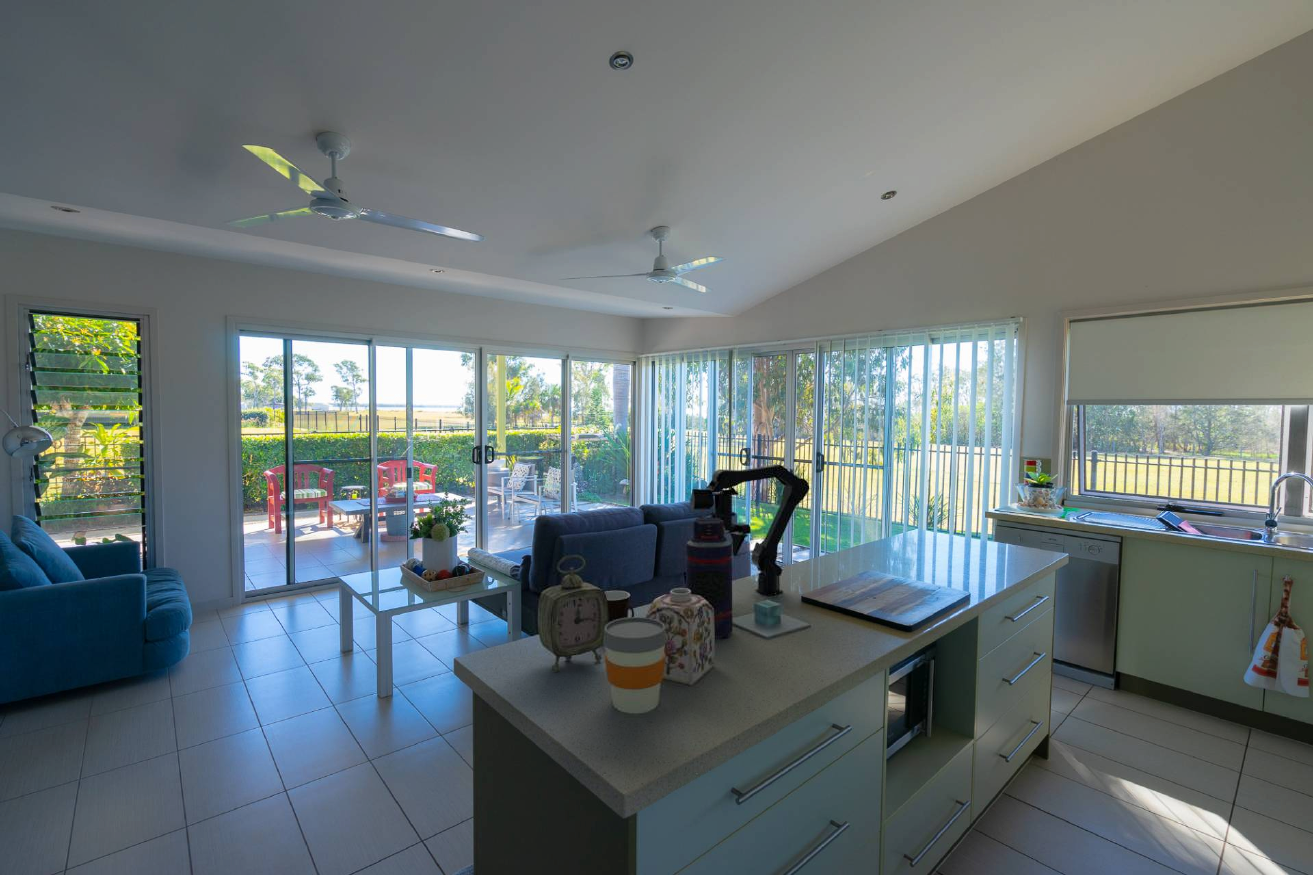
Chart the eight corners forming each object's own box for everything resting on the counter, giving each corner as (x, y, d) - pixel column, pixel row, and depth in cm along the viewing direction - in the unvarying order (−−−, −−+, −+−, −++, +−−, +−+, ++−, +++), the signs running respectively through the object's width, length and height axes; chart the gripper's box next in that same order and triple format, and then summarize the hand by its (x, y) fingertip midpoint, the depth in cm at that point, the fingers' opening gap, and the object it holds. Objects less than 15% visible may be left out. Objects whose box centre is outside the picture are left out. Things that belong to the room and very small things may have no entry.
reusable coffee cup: (594, 696, 118) (593, 623, 118) (649, 683, 124) (649, 613, 124) (619, 724, 107) (618, 643, 107) (679, 708, 113) (678, 631, 112)
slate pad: (768, 611, 171) (768, 609, 171) (810, 626, 157) (810, 624, 157) (726, 621, 162) (726, 619, 162) (766, 639, 149) (766, 636, 149)
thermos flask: (735, 642, 147) (734, 523, 146) (687, 642, 147) (686, 523, 146) (729, 623, 160) (728, 514, 160) (686, 624, 161) (684, 515, 160)
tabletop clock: (550, 677, 128) (549, 563, 127) (535, 663, 135) (533, 555, 135) (609, 661, 136) (607, 554, 135) (591, 649, 143) (589, 547, 143)
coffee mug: (594, 629, 157) (594, 592, 157) (625, 625, 160) (625, 589, 160) (604, 644, 146) (603, 605, 146) (637, 640, 149) (636, 601, 149)
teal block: (767, 617, 163) (767, 599, 163) (780, 622, 159) (780, 604, 159) (754, 621, 160) (754, 603, 160) (767, 626, 156) (767, 607, 156)
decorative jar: (716, 666, 132) (715, 587, 132) (693, 687, 122) (692, 601, 122) (670, 656, 138) (669, 581, 138) (644, 675, 128) (643, 593, 128)
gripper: (729, 504, 199) (729, 549, 199) (684, 508, 188) (685, 557, 189) (751, 507, 189) (752, 555, 190) (706, 513, 179) (706, 563, 179)
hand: (723, 557), depth 187 cm, fingers open, 9 cm apart
